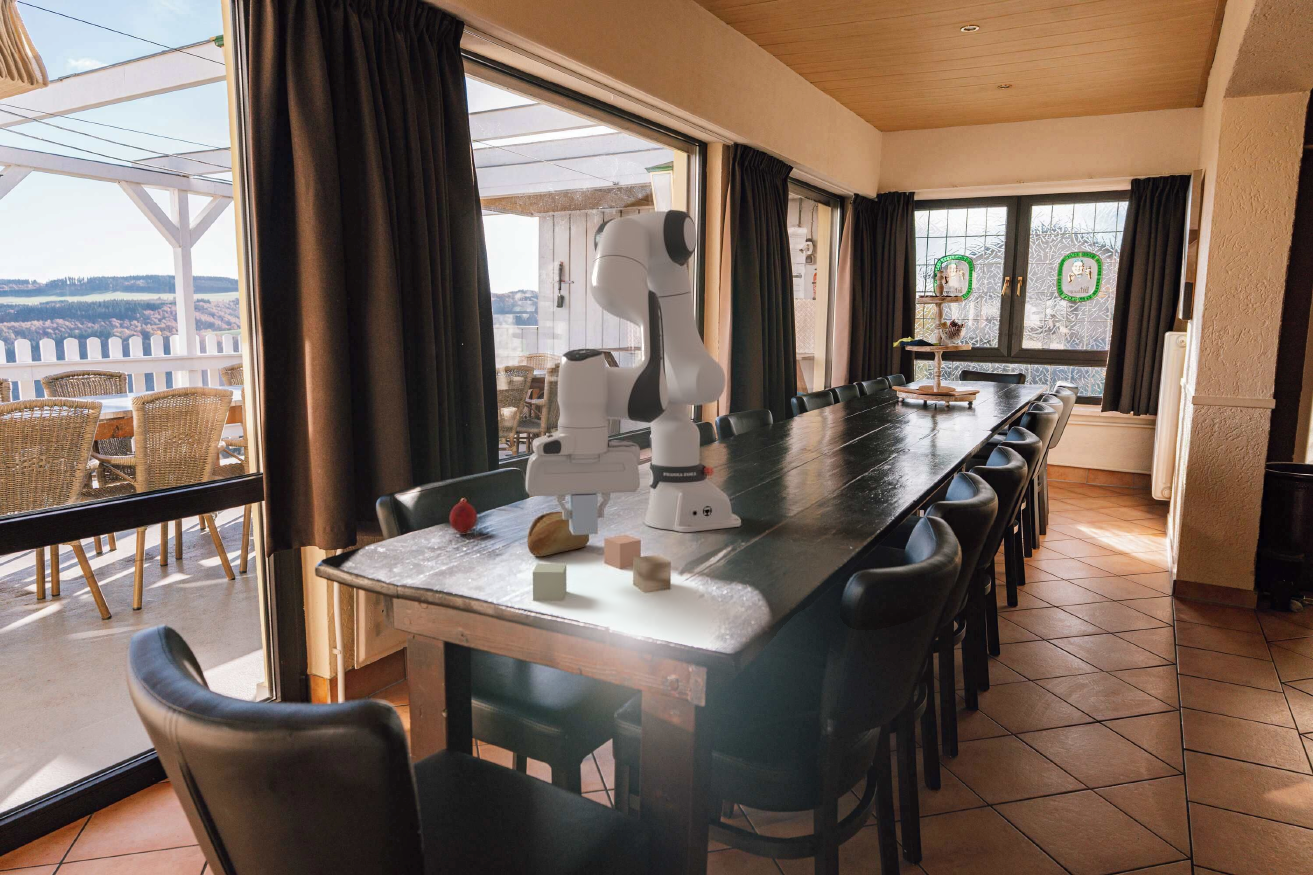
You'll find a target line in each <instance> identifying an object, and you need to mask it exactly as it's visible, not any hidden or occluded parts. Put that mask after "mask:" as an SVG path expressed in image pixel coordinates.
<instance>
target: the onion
mask: <svg viewBox="0 0 1313 875" xmlns="http://www.w3.org/2000/svg"><path fill="white" fill-rule="evenodd" d="M475 509H476V508H475V507H474V506H473V505H471V504H470V503H468V502H467V498H465V497H464V498H463V497H462V498H461V499H460V500H459V502H458V503H457V504H456V505H455V506H453V508H452V509H451V511H450V513H449V519H448V520H449V523H450V525H451V527H452V528H453V529H454V530H455V531H456V532H458V533H460V534H461V533H466V534H468V532H469V531H471V530H472V529H473V528H474V526H475V525H476V524H477V518H478V515H477V511H476V510H475Z"/></svg>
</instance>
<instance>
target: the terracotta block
mask: <svg viewBox="0 0 1313 875" xmlns="http://www.w3.org/2000/svg"><path fill="white" fill-rule="evenodd" d="M603 542H604V543H603V544H604V546H603V547H604V552H603V553H604V554H603V559H604V560H603V562H604V564H605V565H607V566H609V567H613V568H615V569H618V570H623V569H628V568H631V567H632V568H633V558H634V557H642V556H641V555H642V553H641V552H642V551H641V549H642V540H641V539H639V538H636V537H635V536H630V535H627V534H621V535H615V536H611V537H610V536H609V537H605V538H604V540H603Z"/></svg>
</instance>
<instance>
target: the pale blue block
mask: <svg viewBox="0 0 1313 875" xmlns="http://www.w3.org/2000/svg"><path fill="white" fill-rule="evenodd" d="M598 496H599V494H577V495H568V504H569V505H568V508H571V510H572V514H571V516H572V519H569V530H570V531H571V533H572V534H573V535H586V534H589V535H598V533H599V532H598V528H599V527H598V526H599V522H598V521H599V518H598V507H599V502H598V498H599V497H598Z"/></svg>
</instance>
